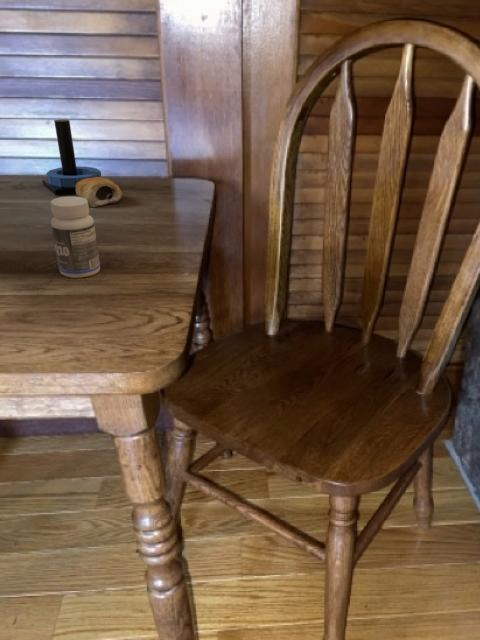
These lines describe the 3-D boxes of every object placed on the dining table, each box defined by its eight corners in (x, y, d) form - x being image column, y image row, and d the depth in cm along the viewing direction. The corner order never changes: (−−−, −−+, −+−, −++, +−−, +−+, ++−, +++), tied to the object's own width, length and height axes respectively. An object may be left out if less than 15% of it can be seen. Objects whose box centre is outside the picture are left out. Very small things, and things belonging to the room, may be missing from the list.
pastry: (67, 195, 96) (63, 171, 94) (105, 190, 100) (103, 168, 98) (87, 208, 90) (84, 184, 88) (128, 203, 93) (125, 179, 91)
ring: (57, 189, 95) (55, 180, 94) (42, 178, 101) (41, 169, 101) (108, 183, 100) (107, 174, 99) (91, 173, 106) (90, 164, 105)
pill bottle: (53, 269, 68) (39, 198, 64) (90, 261, 71) (80, 192, 67) (69, 282, 65) (56, 208, 61) (107, 272, 68) (98, 202, 64)
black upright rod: (55, 195, 96) (43, 125, 90) (42, 185, 101) (30, 118, 96) (102, 190, 100) (93, 122, 94) (87, 180, 105) (78, 115, 100)
